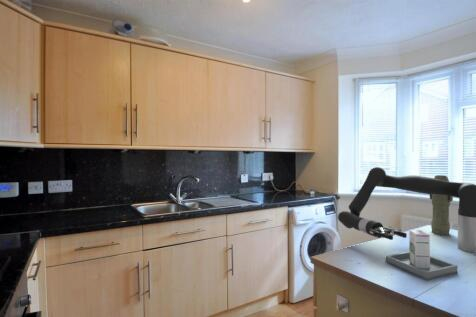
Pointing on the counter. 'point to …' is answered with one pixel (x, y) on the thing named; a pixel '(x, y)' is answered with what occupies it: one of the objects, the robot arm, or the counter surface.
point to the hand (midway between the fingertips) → (399, 236)
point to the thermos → (440, 211)
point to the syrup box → (419, 248)
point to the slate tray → (436, 268)
